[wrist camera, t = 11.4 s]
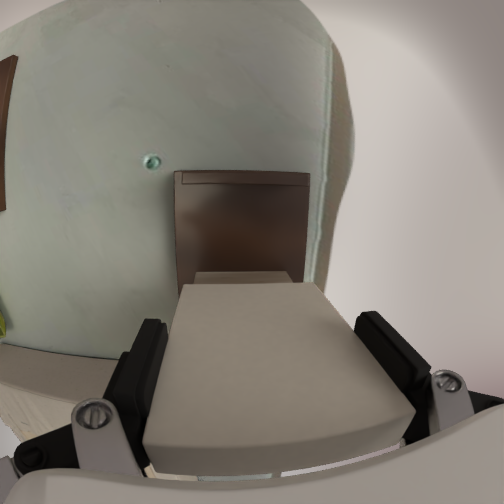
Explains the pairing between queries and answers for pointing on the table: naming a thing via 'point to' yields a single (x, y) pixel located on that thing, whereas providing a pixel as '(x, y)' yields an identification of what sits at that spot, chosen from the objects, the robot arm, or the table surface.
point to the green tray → (2, 326)
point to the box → (51, 391)
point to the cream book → (267, 385)
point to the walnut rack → (5, 114)
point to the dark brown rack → (240, 226)
